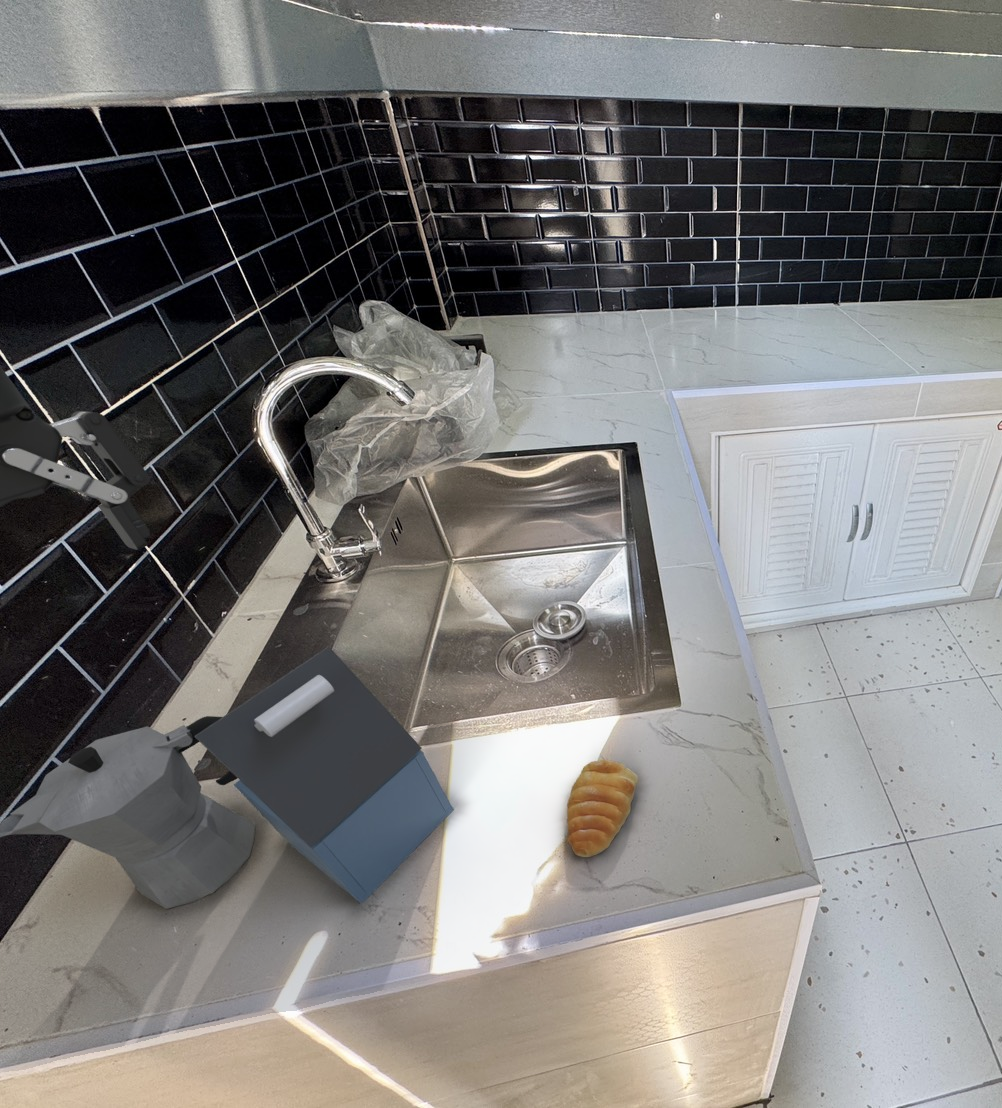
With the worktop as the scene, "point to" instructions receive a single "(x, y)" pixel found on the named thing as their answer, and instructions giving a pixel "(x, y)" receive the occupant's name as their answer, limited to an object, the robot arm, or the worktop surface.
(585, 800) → the pastry
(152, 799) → the coffeepot
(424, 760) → the blue-grey box
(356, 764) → the grey box lid
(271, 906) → the worktop surface
